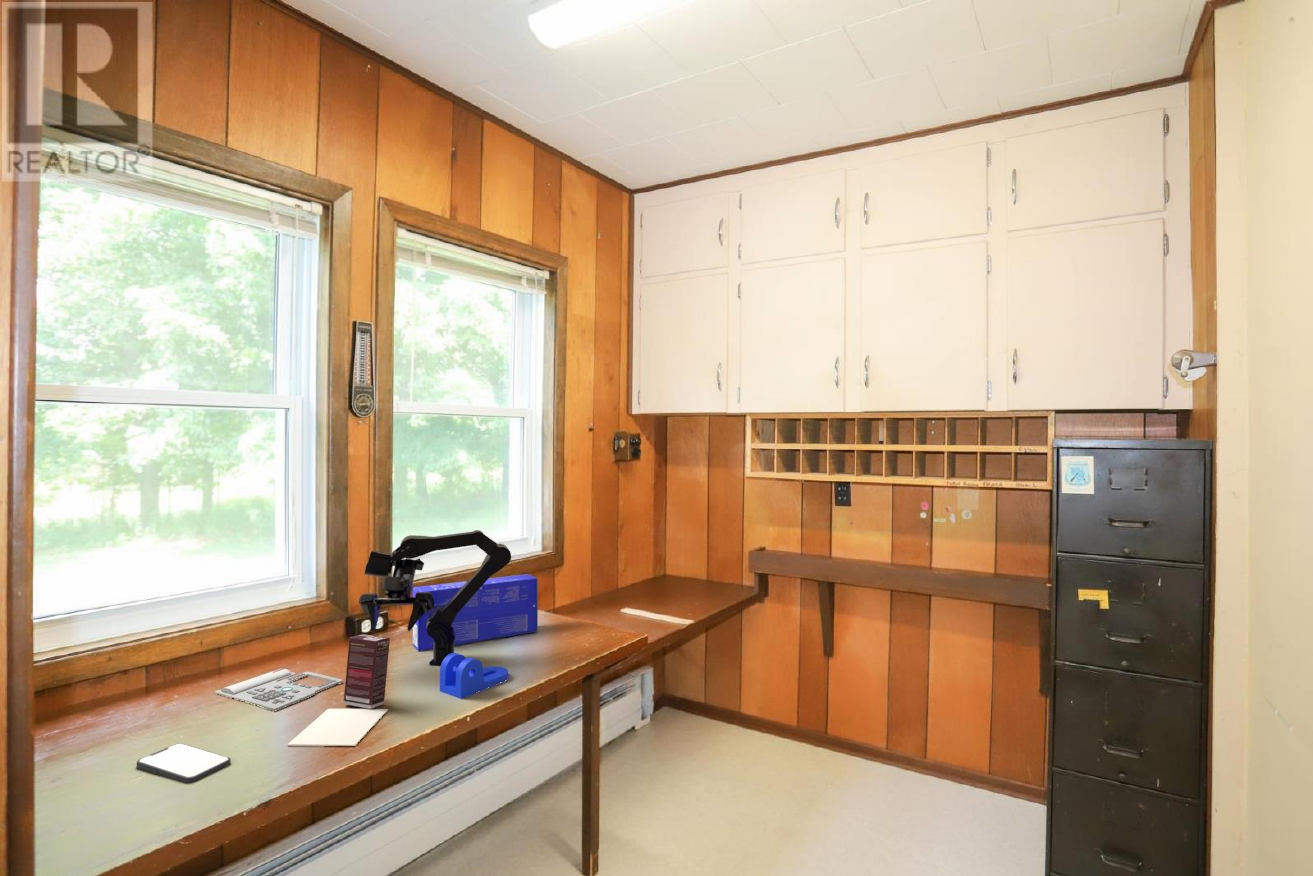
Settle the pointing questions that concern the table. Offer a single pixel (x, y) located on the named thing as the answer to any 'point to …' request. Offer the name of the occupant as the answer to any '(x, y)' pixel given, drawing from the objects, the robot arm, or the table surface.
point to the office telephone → (276, 689)
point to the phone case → (183, 763)
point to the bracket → (468, 676)
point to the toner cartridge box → (485, 610)
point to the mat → (339, 727)
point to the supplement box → (366, 671)
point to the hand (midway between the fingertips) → (390, 630)
